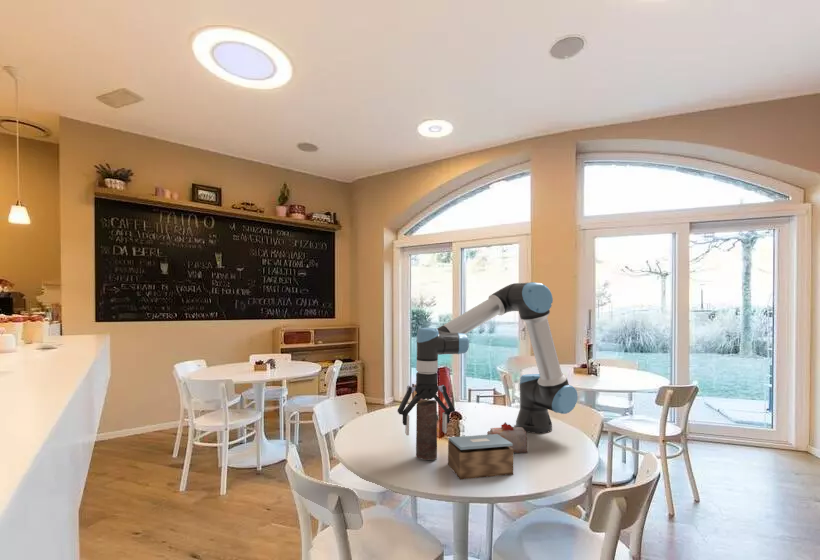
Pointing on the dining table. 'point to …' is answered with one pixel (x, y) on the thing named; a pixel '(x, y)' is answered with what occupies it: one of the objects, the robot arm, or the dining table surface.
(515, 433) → the food item
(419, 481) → the dining table surface
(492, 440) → the lid
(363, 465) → the dining table surface
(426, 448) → the candle
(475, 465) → the box
